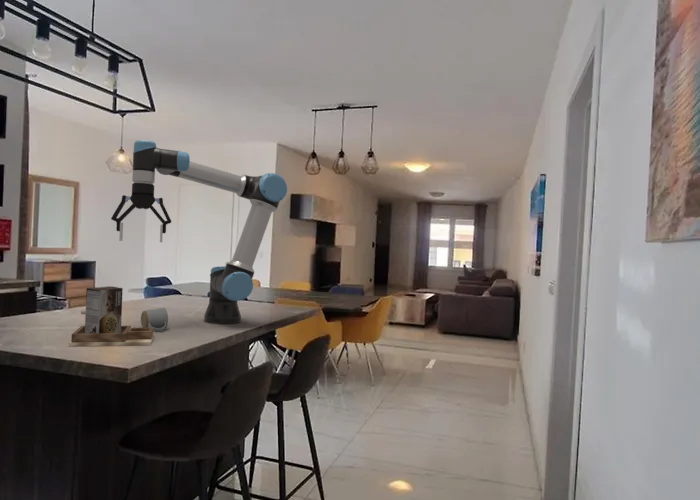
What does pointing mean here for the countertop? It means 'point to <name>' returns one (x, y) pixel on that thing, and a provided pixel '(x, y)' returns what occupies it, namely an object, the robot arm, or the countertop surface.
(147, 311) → the ceramic mug
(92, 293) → the coffee box
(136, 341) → the board
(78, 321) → the countertop surface
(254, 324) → the countertop surface
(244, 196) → the robot arm
